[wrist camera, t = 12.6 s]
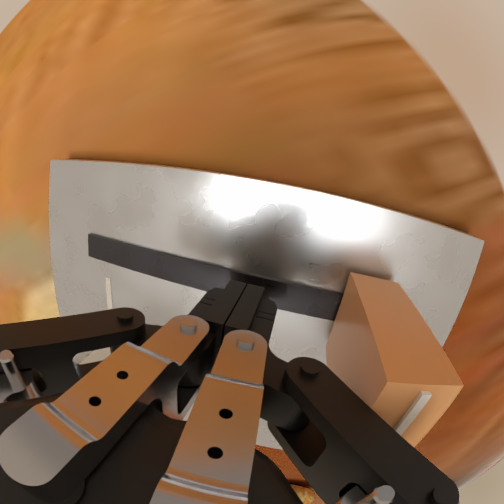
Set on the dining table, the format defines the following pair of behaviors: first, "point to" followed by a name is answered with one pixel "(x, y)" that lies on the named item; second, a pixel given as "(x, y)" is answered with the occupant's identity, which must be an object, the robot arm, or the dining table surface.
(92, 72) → the dining table surface
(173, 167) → the fader panel
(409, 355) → the orange fader
